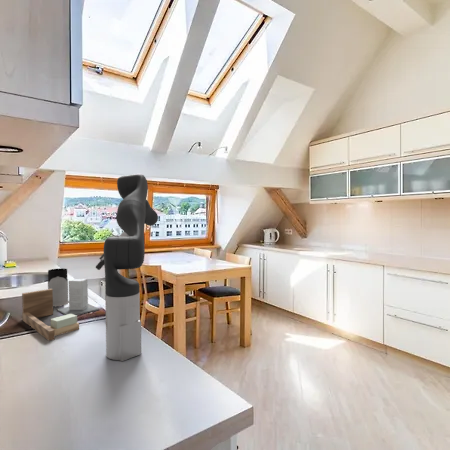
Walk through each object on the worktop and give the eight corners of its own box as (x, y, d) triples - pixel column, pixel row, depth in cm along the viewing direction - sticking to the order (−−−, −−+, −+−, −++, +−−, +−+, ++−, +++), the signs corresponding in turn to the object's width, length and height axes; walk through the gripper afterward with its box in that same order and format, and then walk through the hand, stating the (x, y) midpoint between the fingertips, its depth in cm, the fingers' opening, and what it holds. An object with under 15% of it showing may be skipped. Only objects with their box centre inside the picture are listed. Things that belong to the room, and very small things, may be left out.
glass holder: (46, 307, 133) (45, 272, 133) (47, 299, 146) (47, 267, 145) (69, 304, 137) (69, 270, 137) (68, 297, 150) (68, 265, 149)
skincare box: (88, 307, 132) (88, 278, 131) (83, 310, 127) (82, 281, 127) (74, 306, 132) (74, 278, 132) (68, 310, 128) (68, 280, 128)
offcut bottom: (79, 330, 109) (79, 323, 109) (54, 337, 102) (54, 329, 102) (72, 327, 112) (72, 320, 112) (48, 333, 106) (48, 326, 106)
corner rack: (82, 331, 106) (81, 302, 106) (49, 340, 98) (48, 309, 98) (51, 313, 125) (51, 288, 125) (21, 319, 118) (21, 293, 117)
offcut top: (77, 322, 109) (77, 315, 109) (56, 328, 103) (56, 321, 103) (70, 320, 111) (70, 313, 111) (50, 326, 105) (50, 319, 105)
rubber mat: (99, 310, 130) (99, 308, 130) (69, 317, 121) (69, 315, 121) (86, 304, 138) (86, 303, 138) (57, 310, 129) (57, 309, 129)
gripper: (112, 235, 147) (88, 262, 139) (128, 237, 138) (103, 266, 130) (122, 246, 152) (99, 273, 144) (139, 248, 142) (115, 277, 134)
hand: (101, 270), depth 137 cm, fingers open, 8 cm apart
